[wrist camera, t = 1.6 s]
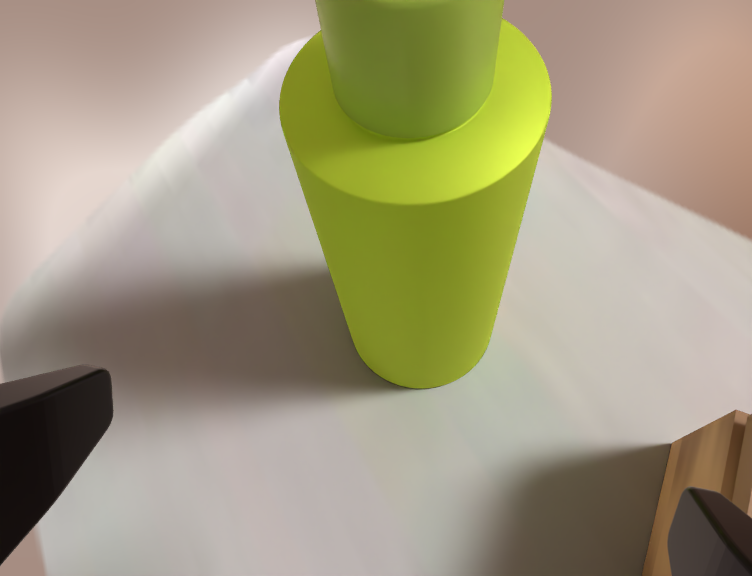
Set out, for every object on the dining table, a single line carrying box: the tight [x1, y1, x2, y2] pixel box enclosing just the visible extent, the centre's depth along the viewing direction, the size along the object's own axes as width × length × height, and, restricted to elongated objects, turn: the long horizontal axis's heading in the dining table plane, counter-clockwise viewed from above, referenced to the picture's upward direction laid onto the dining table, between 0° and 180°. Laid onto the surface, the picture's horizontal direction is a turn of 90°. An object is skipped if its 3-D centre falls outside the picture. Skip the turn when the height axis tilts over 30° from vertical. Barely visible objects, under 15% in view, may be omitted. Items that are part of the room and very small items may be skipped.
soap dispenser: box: [279, 0, 552, 389], centre depth 16 cm, size 6×7×20 cm
